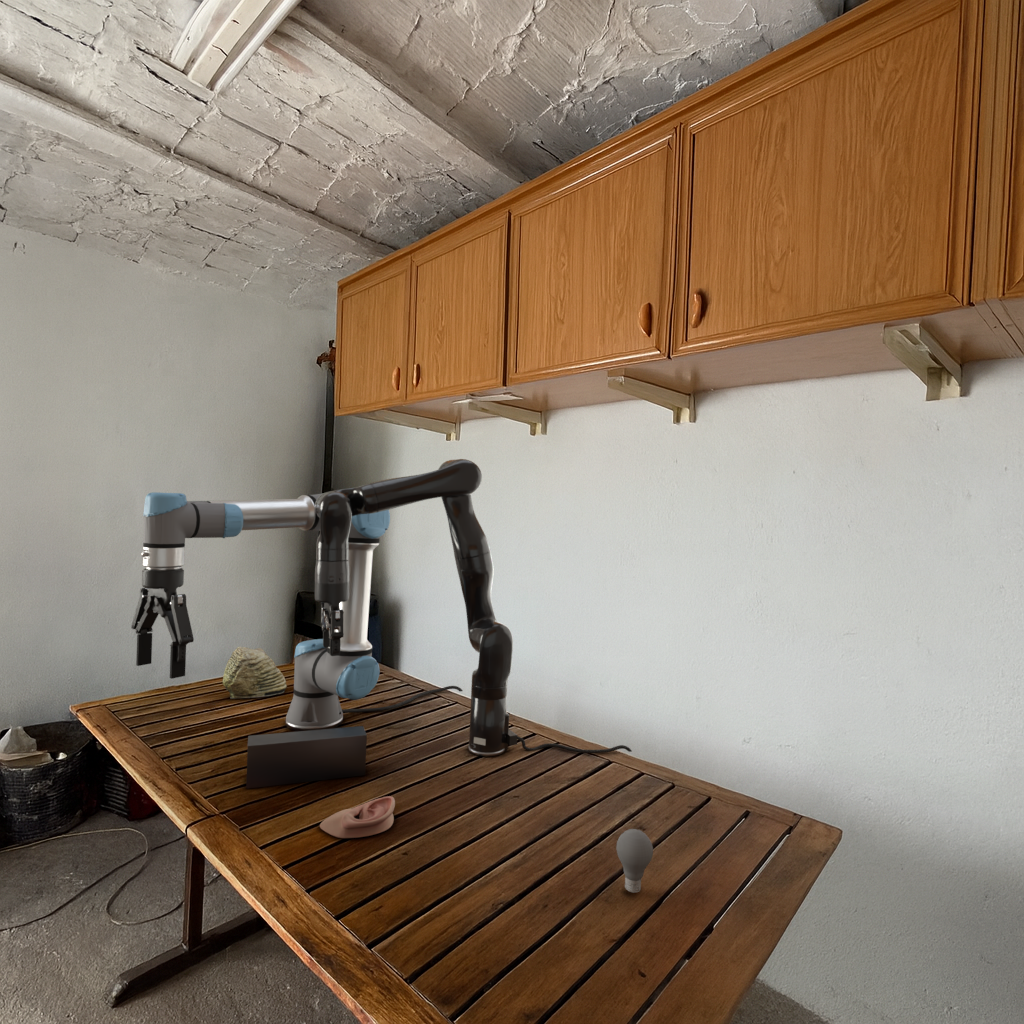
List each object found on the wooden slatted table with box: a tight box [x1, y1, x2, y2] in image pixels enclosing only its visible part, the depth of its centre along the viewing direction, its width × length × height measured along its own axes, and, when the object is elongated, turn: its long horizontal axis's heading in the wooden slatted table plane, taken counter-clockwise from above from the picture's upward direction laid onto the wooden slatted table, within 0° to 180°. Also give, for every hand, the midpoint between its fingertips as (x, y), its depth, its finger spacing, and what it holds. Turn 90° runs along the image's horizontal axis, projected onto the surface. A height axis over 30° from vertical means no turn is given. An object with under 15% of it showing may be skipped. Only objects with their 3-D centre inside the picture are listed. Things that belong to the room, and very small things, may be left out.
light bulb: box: [615, 828, 654, 894], centre depth 106 cm, size 6×6×10 cm
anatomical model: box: [319, 795, 396, 839], centre depth 123 cm, size 13×4×12 cm
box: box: [245, 725, 368, 790], centre depth 143 cm, size 25×6×9 cm, turn 111°
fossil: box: [222, 646, 288, 699], centre depth 198 cm, size 9×18×15 cm, turn 132°
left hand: (160, 670), depth 130 cm, fingers open, 13 cm apart
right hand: (331, 650), depth 144 cm, fingers open, 8 cm apart
